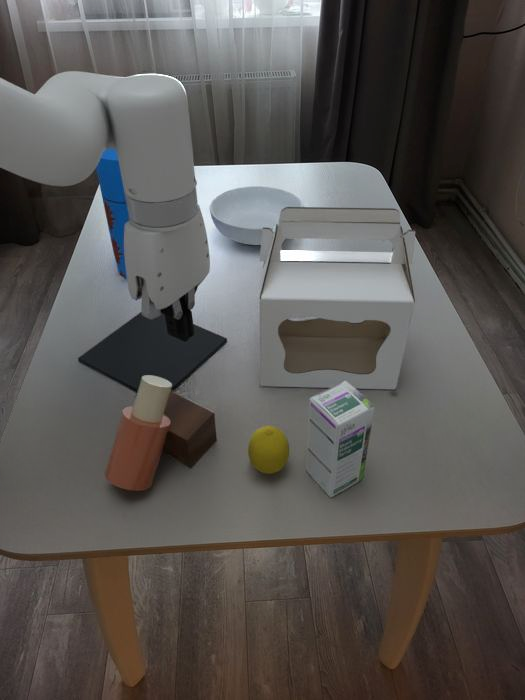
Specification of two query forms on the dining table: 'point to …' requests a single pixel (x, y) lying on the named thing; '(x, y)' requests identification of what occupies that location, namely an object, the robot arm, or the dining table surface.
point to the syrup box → (338, 437)
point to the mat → (151, 352)
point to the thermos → (114, 203)
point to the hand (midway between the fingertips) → (181, 334)
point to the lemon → (268, 449)
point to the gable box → (335, 300)
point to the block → (188, 430)
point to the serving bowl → (250, 211)
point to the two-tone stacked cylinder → (140, 436)
